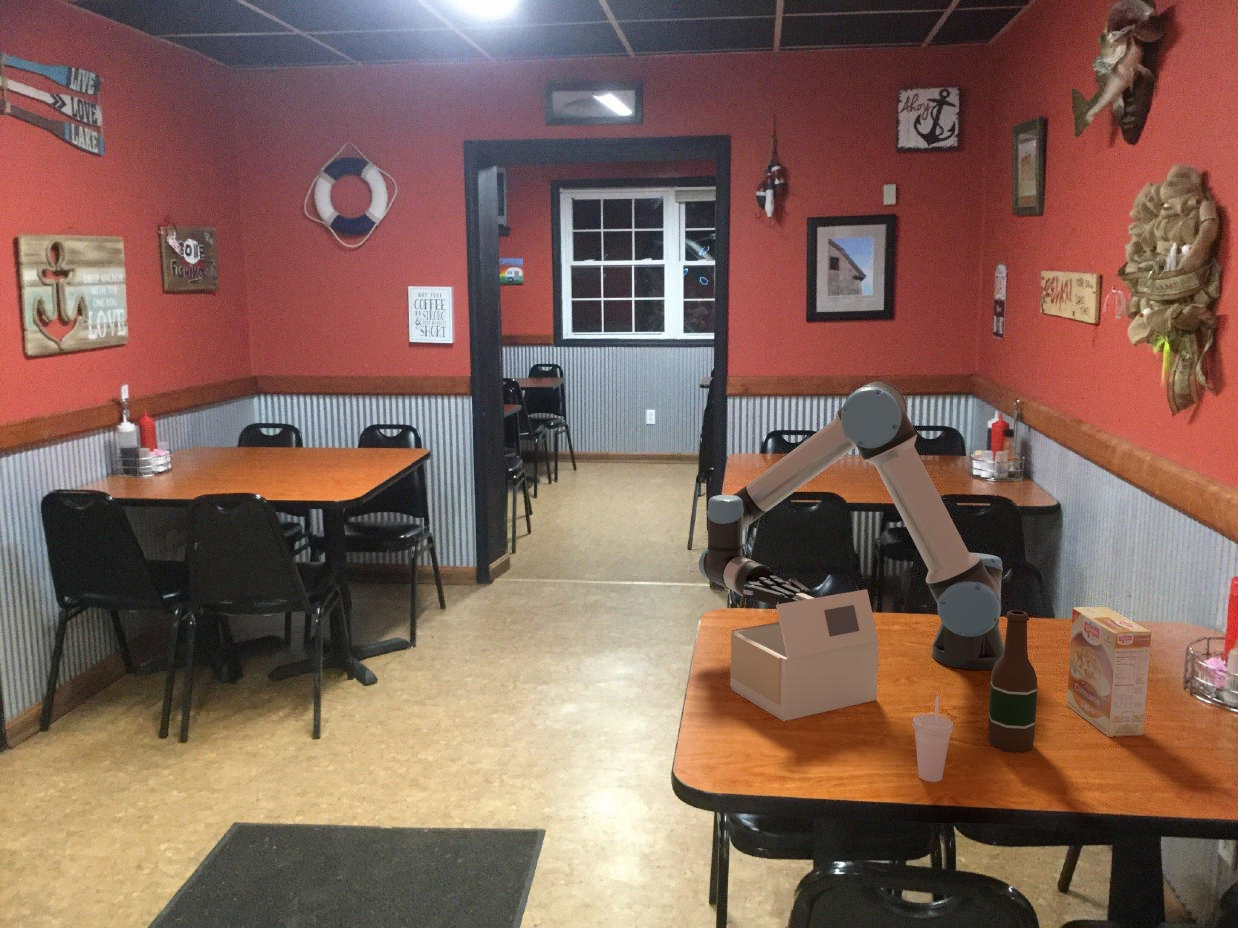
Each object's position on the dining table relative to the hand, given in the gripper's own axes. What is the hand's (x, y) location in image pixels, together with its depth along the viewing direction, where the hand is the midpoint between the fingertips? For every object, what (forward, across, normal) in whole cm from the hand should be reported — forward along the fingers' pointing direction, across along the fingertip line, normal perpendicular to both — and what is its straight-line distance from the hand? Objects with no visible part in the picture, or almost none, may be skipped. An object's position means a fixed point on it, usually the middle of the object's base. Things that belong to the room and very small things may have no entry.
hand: (819, 608), depth 202 cm
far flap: (+2, -1, -2) cm, 3 cm away
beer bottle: (+30, -19, -19) cm, 41 cm away
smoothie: (+33, +2, -19) cm, 39 cm away
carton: (-5, -1, -19) cm, 20 cm away
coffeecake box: (+30, -42, -19) cm, 56 cm away
